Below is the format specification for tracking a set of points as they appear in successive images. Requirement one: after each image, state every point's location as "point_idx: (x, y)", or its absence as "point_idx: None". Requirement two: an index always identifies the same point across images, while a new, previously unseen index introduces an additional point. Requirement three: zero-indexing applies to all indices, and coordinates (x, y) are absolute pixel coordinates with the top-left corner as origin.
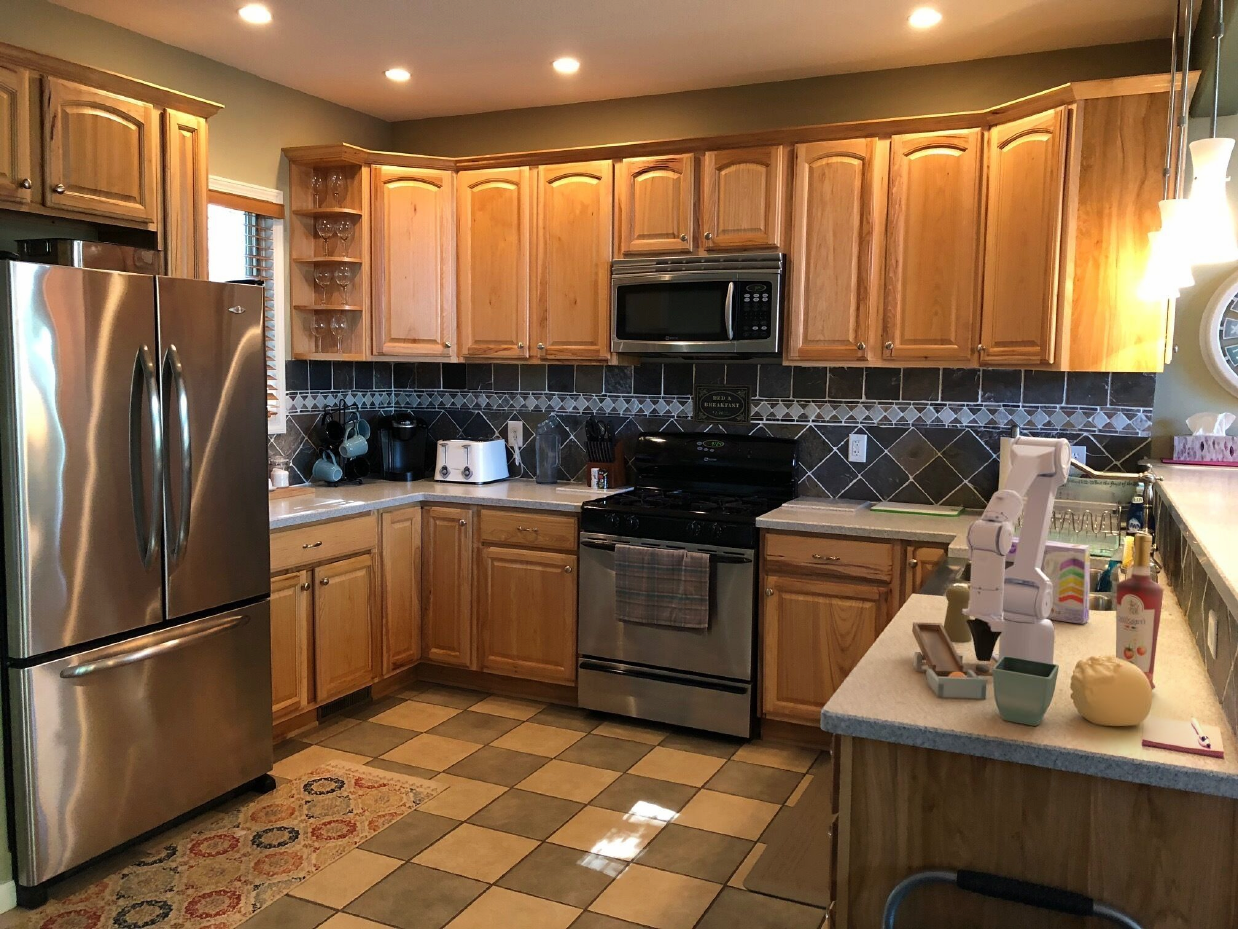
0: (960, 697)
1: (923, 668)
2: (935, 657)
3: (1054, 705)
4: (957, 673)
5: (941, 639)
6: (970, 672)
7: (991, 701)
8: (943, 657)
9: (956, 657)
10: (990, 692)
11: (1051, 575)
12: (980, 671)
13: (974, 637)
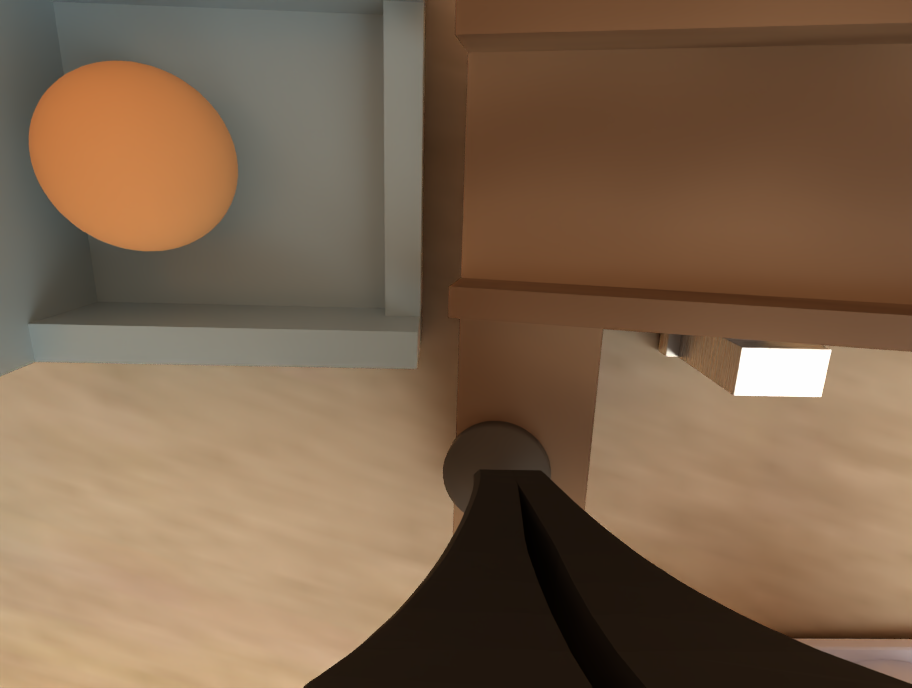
0: None
1: None
2: (729, 116)
3: (71, 680)
4: (58, 141)
5: None
6: (343, 338)
7: None
8: (721, 202)
9: (608, 300)
10: (246, 410)
11: None
12: (456, 441)
13: (570, 585)
